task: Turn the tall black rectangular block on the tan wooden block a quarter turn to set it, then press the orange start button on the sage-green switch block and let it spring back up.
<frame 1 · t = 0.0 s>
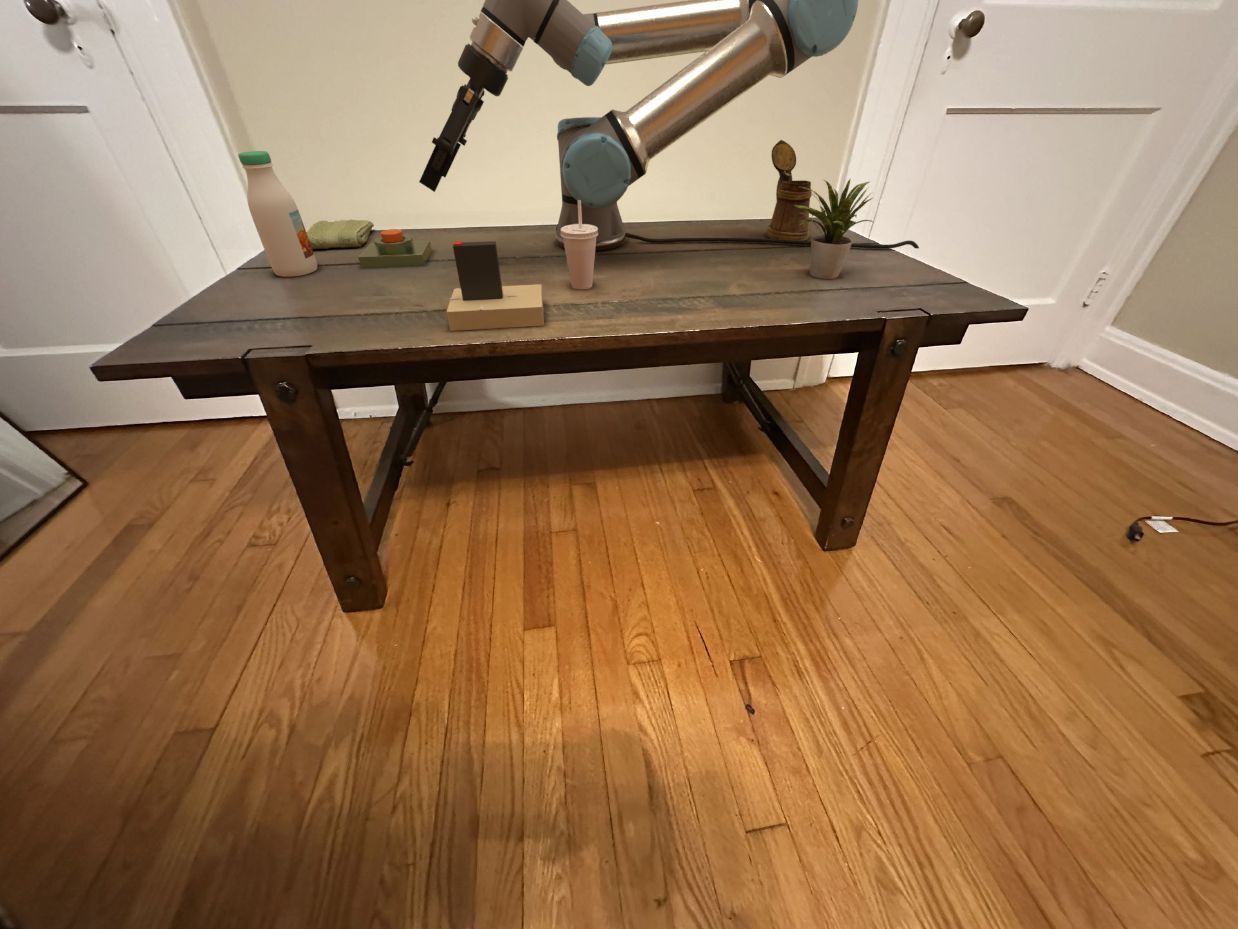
hand: (433, 179, 95), 15 cm above the table, tool tilted 35°, fingers open, 13 cm apart
washcloth: (340, 241, 120), on the table
black rectangular block: (478, 270, 80), point 7 cm above the table, hinge at 0.0°
start button: (392, 236, 105), point 4 cm above the table, slide at 0.1 cm
smoothie: (581, 286, 95), on the table
milk bottle: (297, 272, 103), on the table
switch block: (398, 259, 108), on the table
tan wooden block: (499, 315, 84), on the table
house plant: (824, 273, 100), on the table
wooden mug: (782, 235, 122), on the table
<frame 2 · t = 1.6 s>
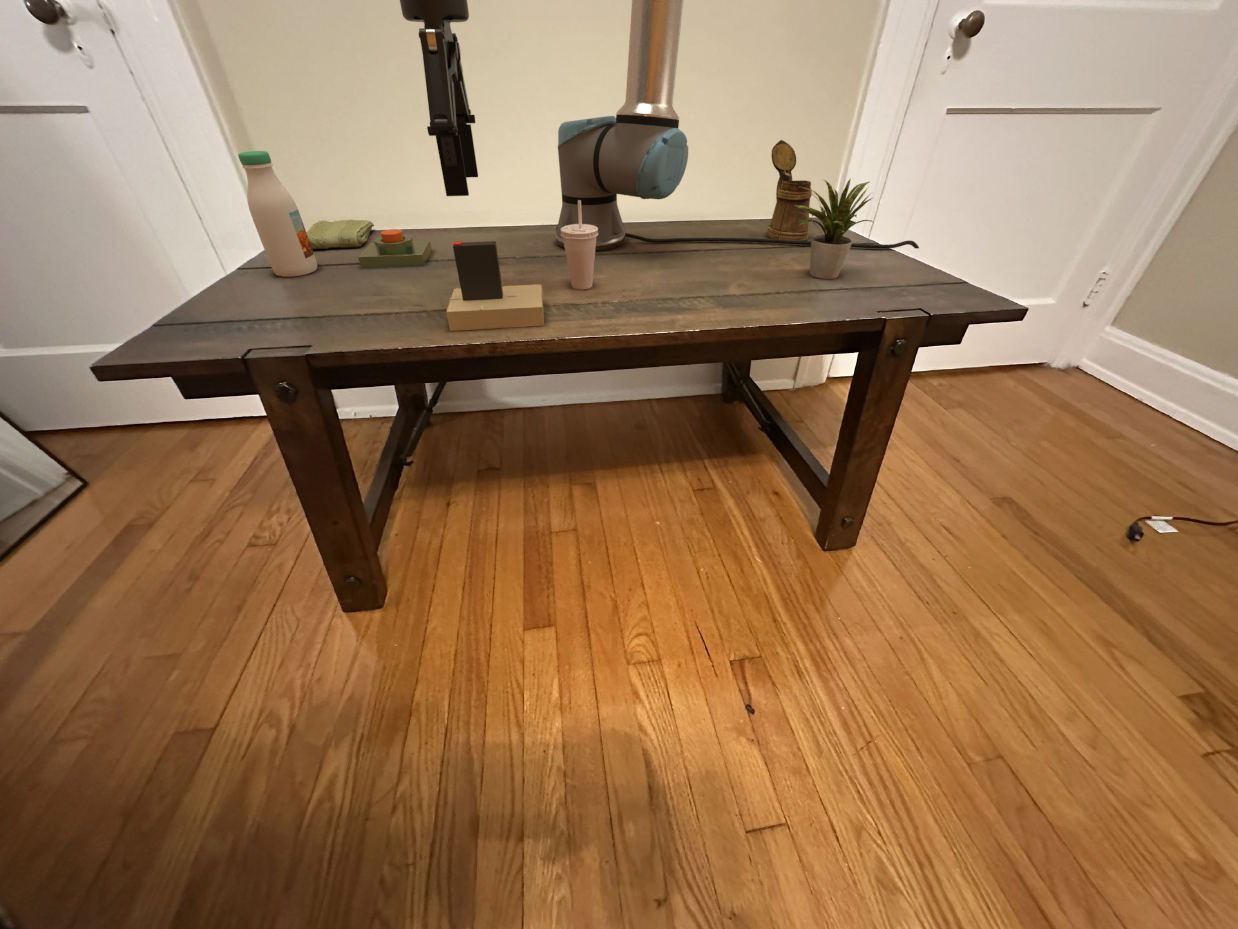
hand: (463, 185, 73), 19 cm above the table, tool pointing down, fingers open, 13 cm apart
nothing on the table moved.
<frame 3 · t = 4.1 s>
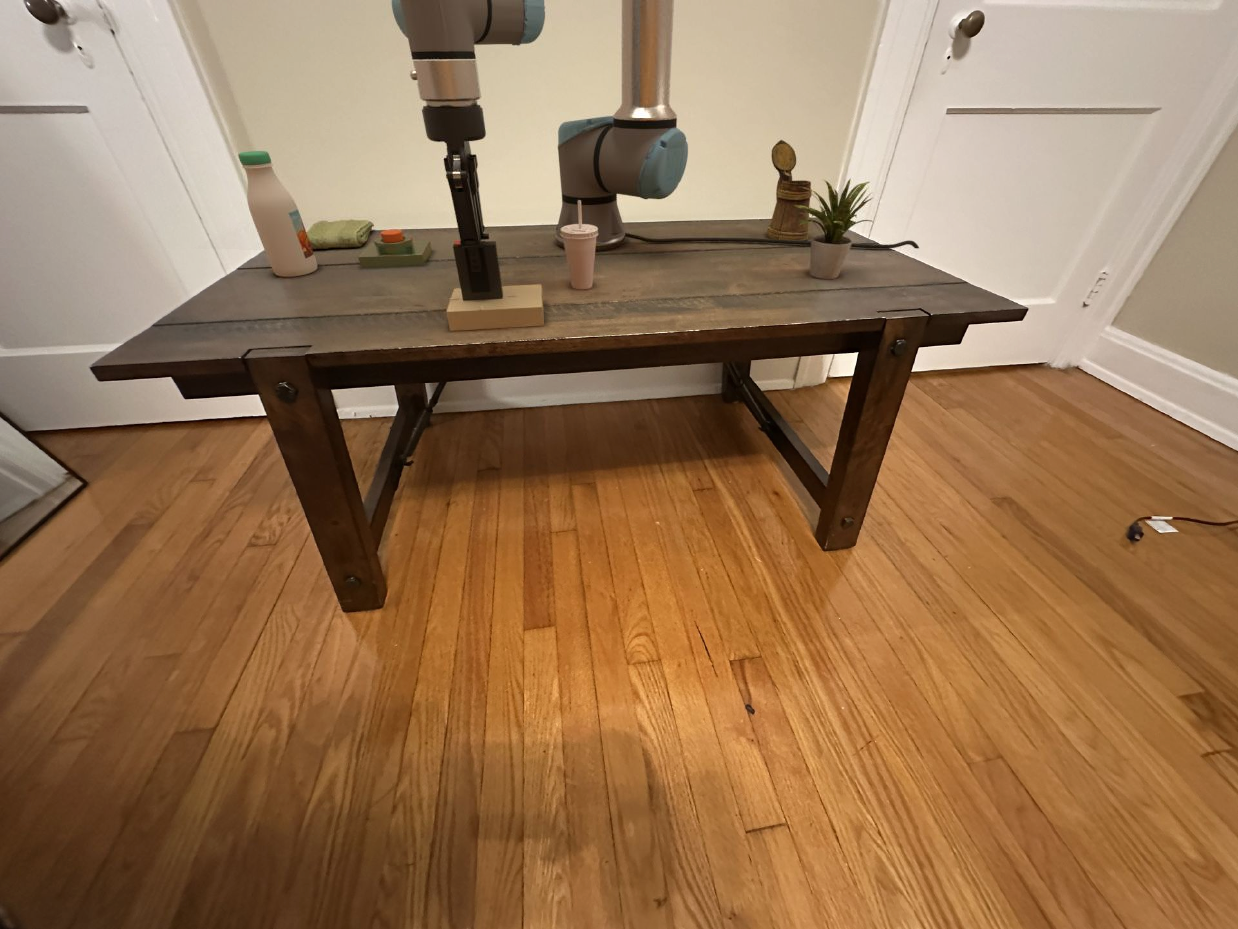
hand: (481, 288, 81), 4 cm above the table, tool pointing down, fingers closed on black rectangular block, 2 cm apart
black rectangular block: (478, 270, 80), point 7 cm above the table, hinge at 0.0°, touching gripper
everything else where it was.
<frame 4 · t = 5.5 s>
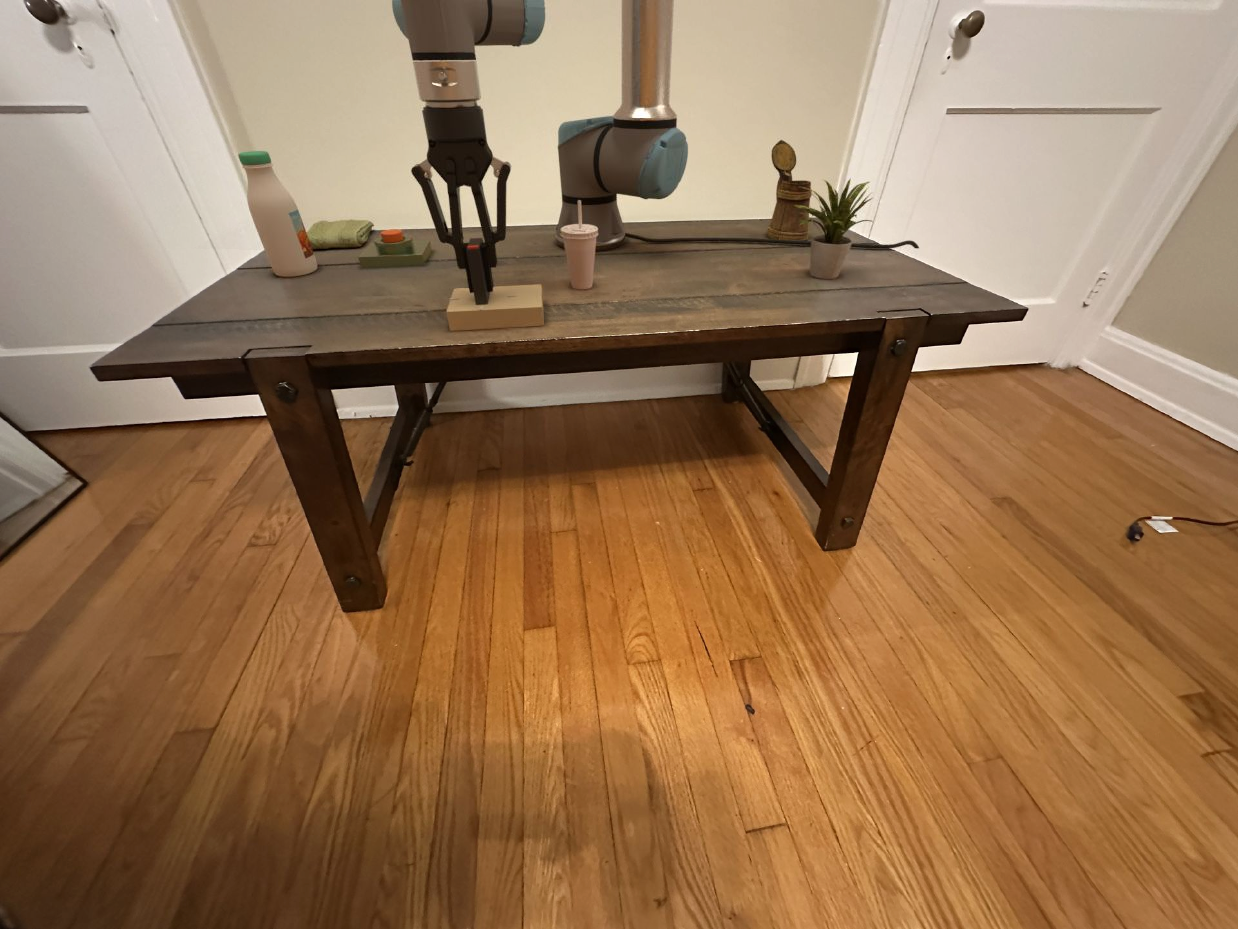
hand: (481, 288, 81), 4 cm above the table, tool pointing down, fingers open, 2 cm apart
black rectangular block: (478, 270, 80), point 7 cm above the table, hinge at 90.0°
everything else where it was.
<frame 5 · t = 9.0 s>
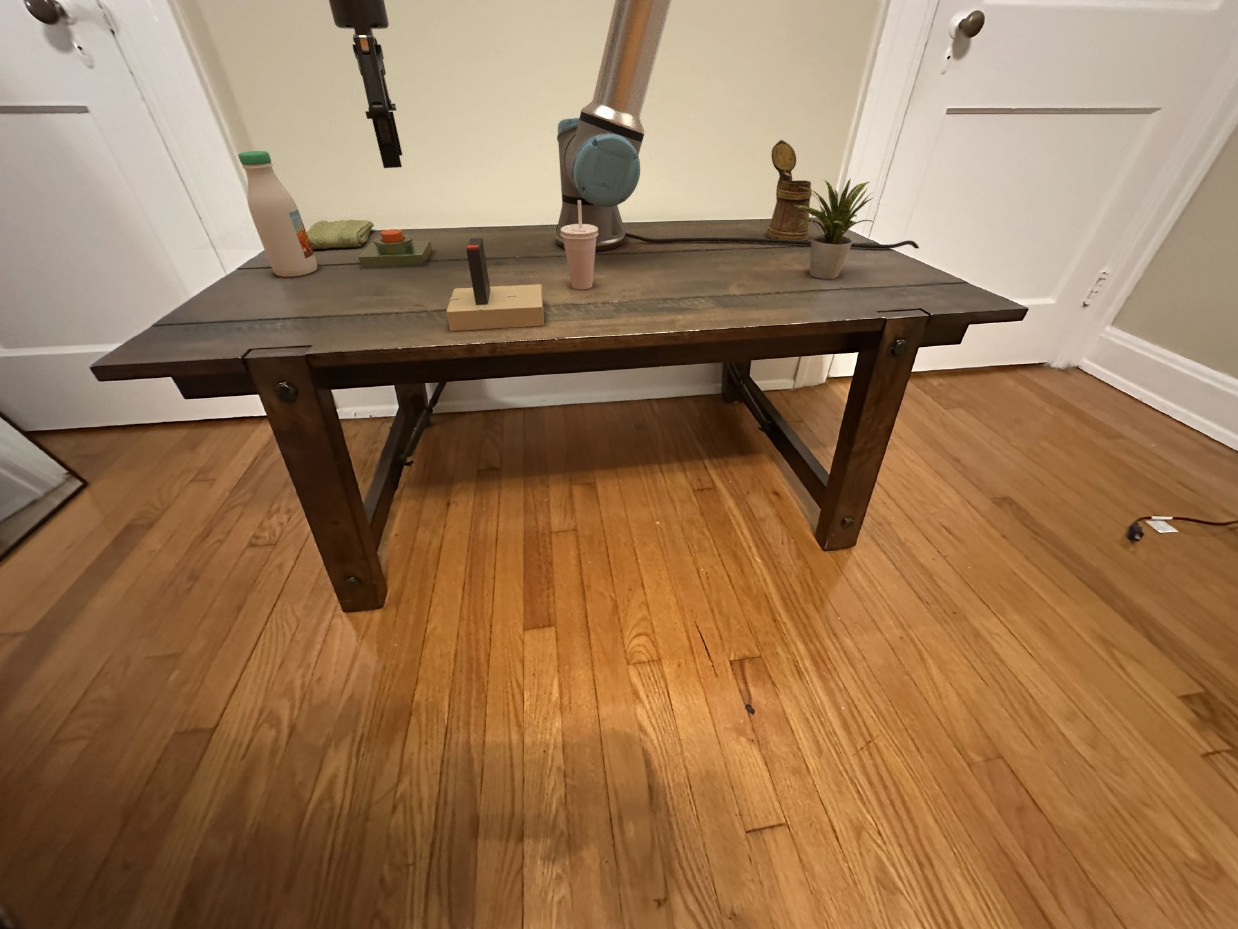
hand: (393, 161, 89), 19 cm above the table, tool pointing down, fingers open, 13 cm apart
nothing on the table moved.
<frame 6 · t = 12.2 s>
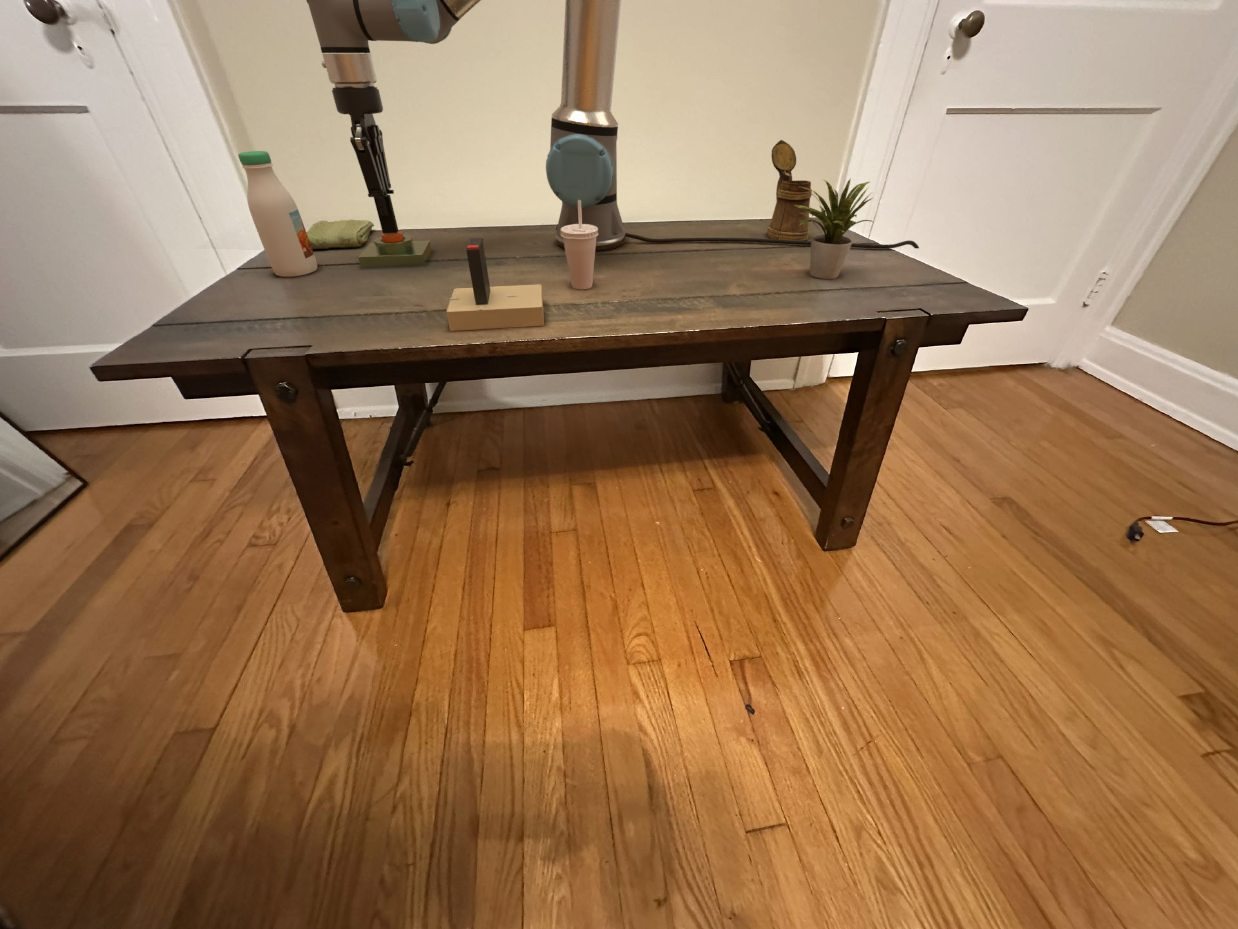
hand: (390, 231, 105), 5 cm above the table, tool pointing down, fingers closed
start button: (392, 238, 106), point 4 cm above the table, slide at -0.2 cm, touching gripper
everything else where it was.
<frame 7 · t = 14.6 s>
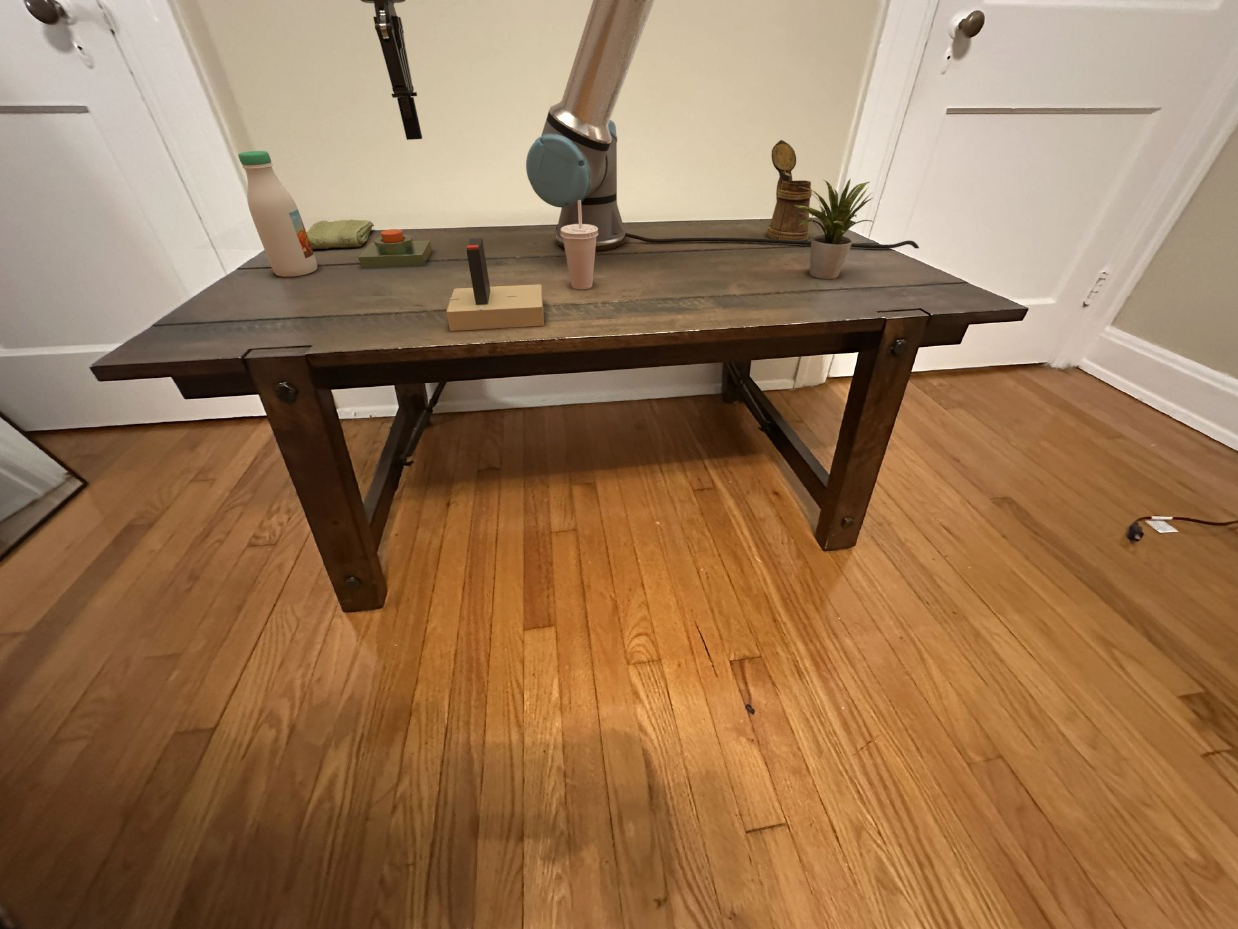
hand: (414, 138, 101), 20 cm above the table, tool pointing down, fingers closed
start button: (392, 236, 105), point 4 cm above the table, slide at 0.1 cm
everything else where it was.
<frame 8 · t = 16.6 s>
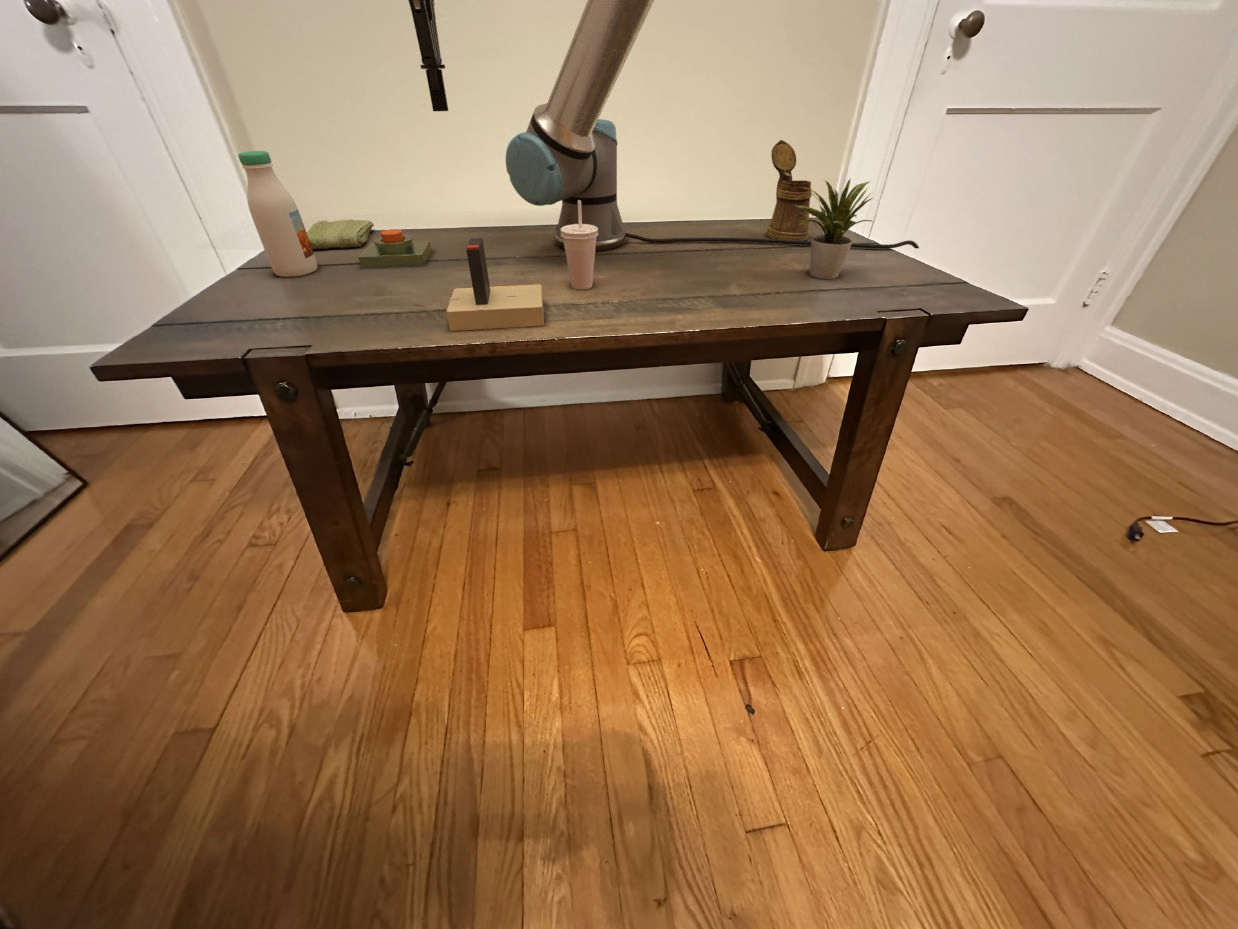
hand: (440, 110, 103), 24 cm above the table, tool pointing down, fingers closed
nothing on the table moved.
at the end: black rectangular block at +90° (first picture: +0°); start button pushed in 1.0 cm at the most during the clip, back to where it started at the end; start button slide at 0.1 cm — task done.
